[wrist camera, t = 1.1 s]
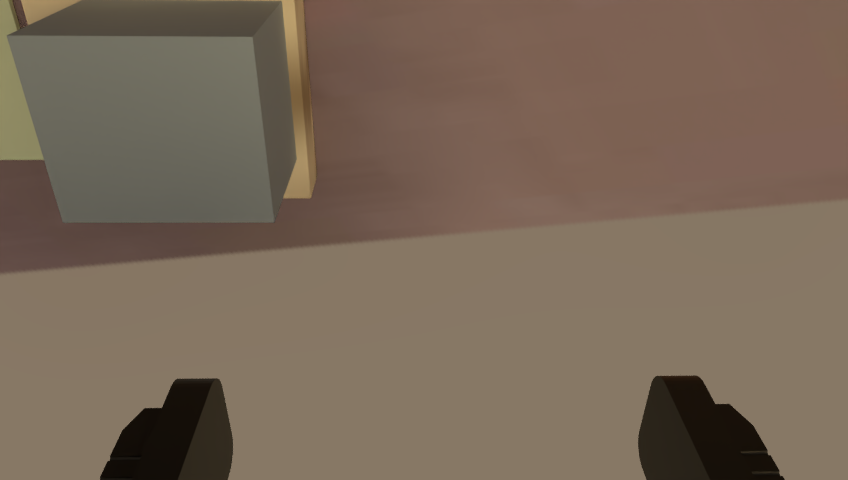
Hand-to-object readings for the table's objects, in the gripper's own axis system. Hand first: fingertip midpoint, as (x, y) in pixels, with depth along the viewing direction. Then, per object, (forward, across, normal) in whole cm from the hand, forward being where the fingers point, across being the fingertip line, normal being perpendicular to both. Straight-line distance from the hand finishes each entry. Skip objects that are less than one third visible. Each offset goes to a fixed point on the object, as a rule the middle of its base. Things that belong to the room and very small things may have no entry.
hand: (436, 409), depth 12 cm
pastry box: (+19, +10, 0) cm, 22 cm away
